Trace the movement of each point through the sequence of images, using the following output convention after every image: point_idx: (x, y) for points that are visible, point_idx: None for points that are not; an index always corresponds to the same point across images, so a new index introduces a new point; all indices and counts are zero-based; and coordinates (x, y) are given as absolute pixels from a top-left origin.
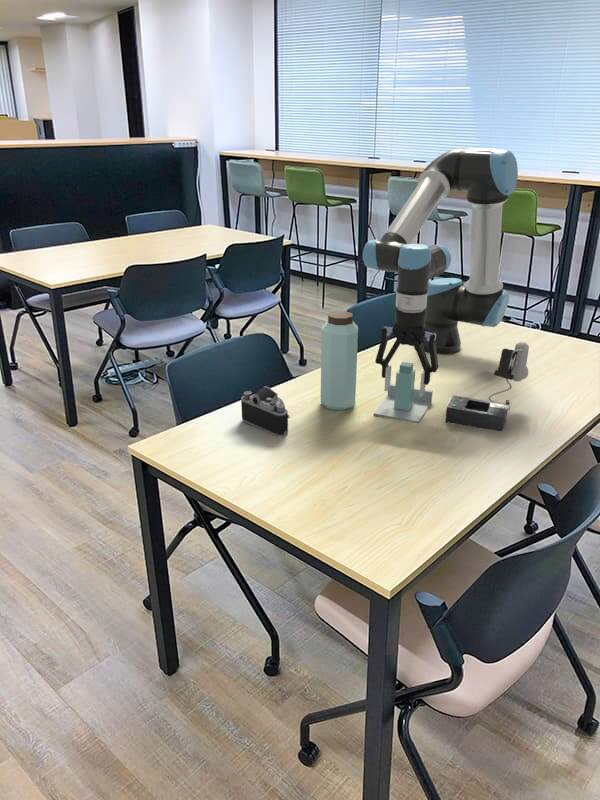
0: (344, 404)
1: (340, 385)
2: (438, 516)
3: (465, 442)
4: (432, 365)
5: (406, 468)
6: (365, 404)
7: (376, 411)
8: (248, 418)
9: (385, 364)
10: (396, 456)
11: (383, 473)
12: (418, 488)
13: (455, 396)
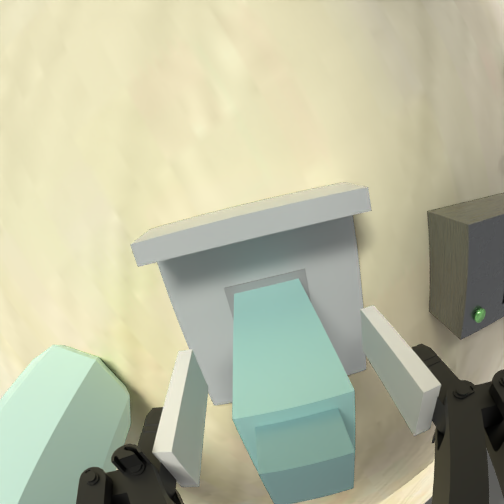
0: (128, 430)
1: None
2: (427, 487)
3: (472, 357)
4: (494, 445)
5: (380, 476)
6: (139, 352)
7: (213, 393)
8: None
9: (174, 501)
10: (356, 472)
11: (351, 497)
12: (403, 484)
13: (476, 232)
